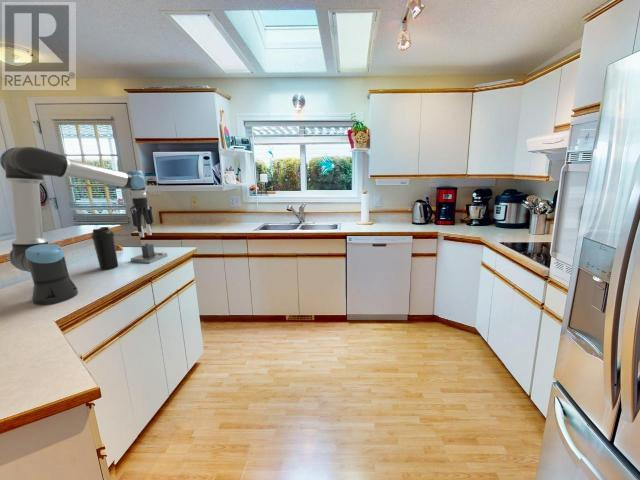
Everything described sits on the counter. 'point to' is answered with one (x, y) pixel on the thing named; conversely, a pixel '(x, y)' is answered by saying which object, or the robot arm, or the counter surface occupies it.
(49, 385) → the counter surface
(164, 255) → the socket
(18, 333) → the counter surface
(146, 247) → the plug
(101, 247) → the water bottle
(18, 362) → the counter surface
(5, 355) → the counter surface
